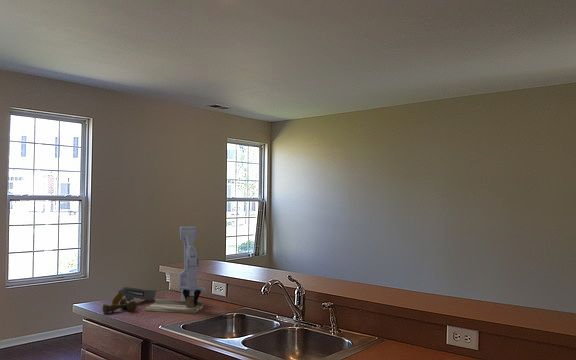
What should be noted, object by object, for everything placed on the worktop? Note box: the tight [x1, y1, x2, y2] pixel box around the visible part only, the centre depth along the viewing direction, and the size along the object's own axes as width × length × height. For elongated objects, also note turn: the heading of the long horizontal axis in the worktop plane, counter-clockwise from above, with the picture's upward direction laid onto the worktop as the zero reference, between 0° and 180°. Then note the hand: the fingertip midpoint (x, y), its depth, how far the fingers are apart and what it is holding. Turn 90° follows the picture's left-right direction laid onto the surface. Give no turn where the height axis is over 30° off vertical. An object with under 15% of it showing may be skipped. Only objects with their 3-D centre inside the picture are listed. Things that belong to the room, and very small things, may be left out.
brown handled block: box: [185, 295, 197, 308], centre depth 265 cm, size 10×4×6 cm, turn 169°
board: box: [144, 298, 204, 314], centre depth 267 cm, size 13×28×4 cm, turn 79°
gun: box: [111, 286, 157, 305], centre depth 283 cm, size 3×25×15 cm, turn 136°
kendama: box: [102, 297, 140, 315], centre depth 262 cm, size 6×10×20 cm
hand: (191, 303), depth 268 cm, fingers closed on brown handled block, 4 cm apart
